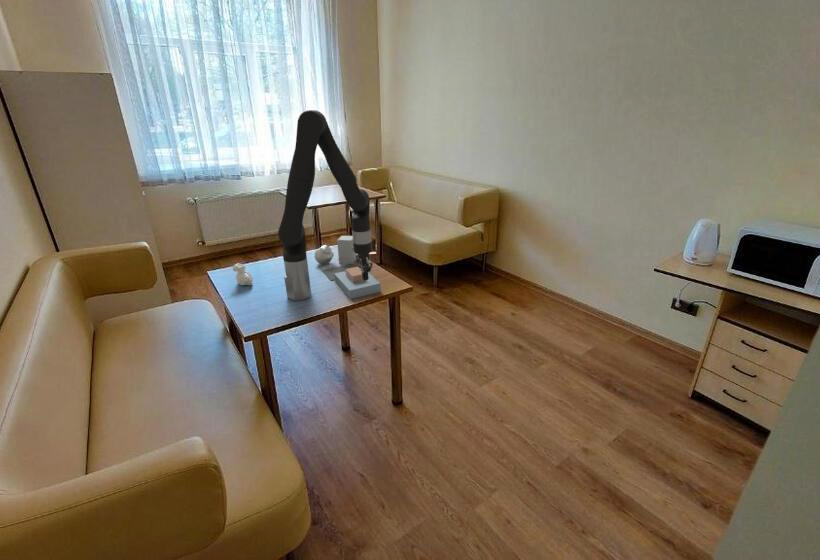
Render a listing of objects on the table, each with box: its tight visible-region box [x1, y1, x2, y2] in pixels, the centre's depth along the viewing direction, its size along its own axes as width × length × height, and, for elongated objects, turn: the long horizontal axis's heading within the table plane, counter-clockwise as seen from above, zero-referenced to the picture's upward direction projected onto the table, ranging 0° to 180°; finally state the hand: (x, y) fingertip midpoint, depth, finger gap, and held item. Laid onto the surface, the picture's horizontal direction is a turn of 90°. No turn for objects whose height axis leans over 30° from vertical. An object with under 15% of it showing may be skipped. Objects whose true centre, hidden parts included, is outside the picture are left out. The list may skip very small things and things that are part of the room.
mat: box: [321, 262, 359, 282], centre depth 198 cm, size 14×17×1 cm
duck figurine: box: [232, 262, 253, 286], centre depth 186 cm, size 12×8×11 cm
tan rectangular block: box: [345, 266, 363, 283], centre depth 182 cm, size 9×6×3 cm, turn 28°
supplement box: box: [336, 235, 357, 265], centre depth 209 cm, size 7×7×13 cm
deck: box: [334, 268, 381, 300], centre depth 183 cm, size 20×14×4 cm
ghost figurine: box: [314, 244, 335, 266], centre depth 206 cm, size 9×10×10 cm
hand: (365, 279), depth 173 cm, fingers closed
